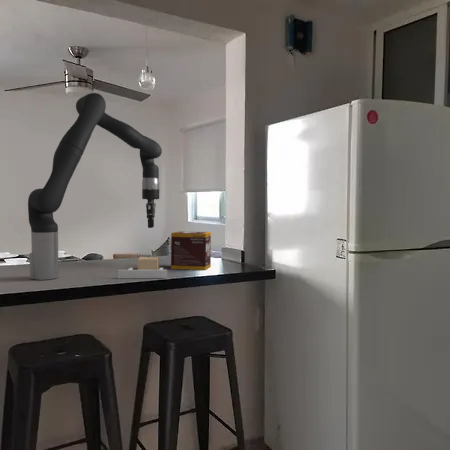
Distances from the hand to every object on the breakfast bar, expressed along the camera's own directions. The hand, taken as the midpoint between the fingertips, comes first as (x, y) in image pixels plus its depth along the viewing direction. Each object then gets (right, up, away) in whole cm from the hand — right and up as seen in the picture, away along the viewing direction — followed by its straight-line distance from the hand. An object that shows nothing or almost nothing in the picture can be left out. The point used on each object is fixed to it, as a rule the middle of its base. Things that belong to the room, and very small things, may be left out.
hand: (150, 227), depth 198 cm
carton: (+1, -18, -9) cm, 20 cm away
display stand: (+2, -19, -24) cm, 30 cm away
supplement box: (+18, -18, -4) cm, 26 cm away
